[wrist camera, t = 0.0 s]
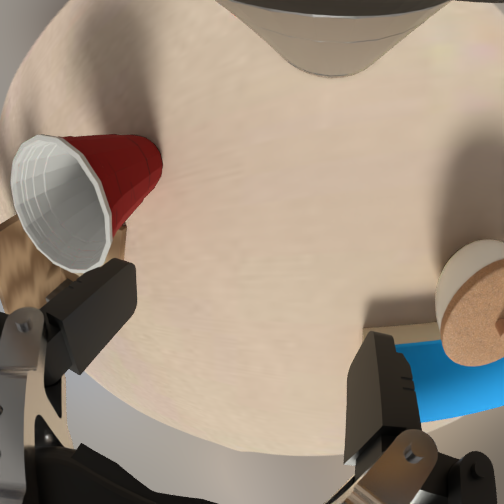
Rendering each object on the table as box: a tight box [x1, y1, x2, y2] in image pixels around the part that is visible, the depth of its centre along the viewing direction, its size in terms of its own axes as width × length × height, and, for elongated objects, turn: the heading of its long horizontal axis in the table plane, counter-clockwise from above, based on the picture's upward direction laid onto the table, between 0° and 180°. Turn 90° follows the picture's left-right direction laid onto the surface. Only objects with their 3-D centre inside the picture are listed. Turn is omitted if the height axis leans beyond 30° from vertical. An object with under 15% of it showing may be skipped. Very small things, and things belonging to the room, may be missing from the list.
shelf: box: [0, 214, 127, 314], centre depth 30 cm, size 16×12×12 cm
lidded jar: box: [435, 239, 504, 366], centre depth 19 cm, size 11×11×9 cm
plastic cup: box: [10, 134, 163, 273], centre depth 22 cm, size 11×11×12 cm
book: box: [362, 322, 504, 423], centre depth 28 cm, size 17×4×25 cm
